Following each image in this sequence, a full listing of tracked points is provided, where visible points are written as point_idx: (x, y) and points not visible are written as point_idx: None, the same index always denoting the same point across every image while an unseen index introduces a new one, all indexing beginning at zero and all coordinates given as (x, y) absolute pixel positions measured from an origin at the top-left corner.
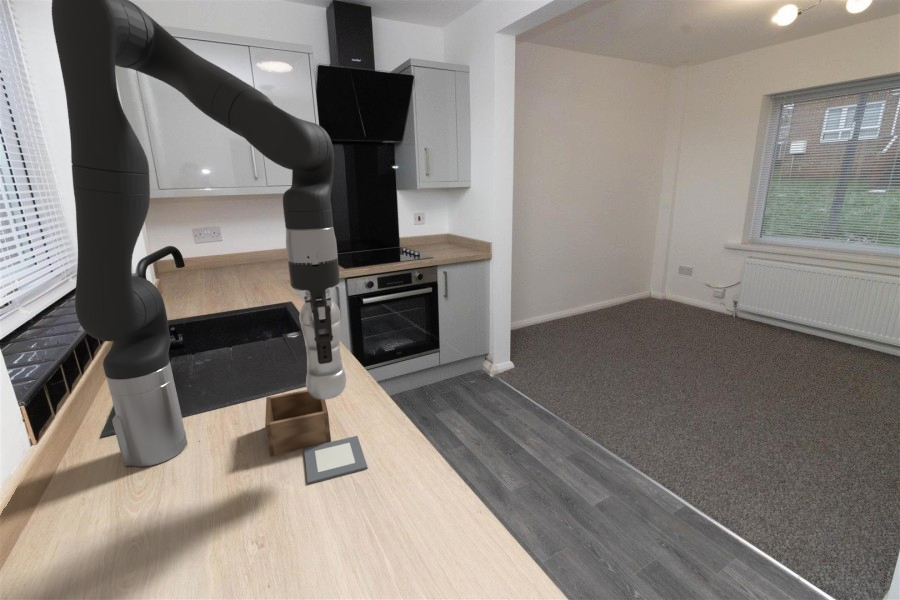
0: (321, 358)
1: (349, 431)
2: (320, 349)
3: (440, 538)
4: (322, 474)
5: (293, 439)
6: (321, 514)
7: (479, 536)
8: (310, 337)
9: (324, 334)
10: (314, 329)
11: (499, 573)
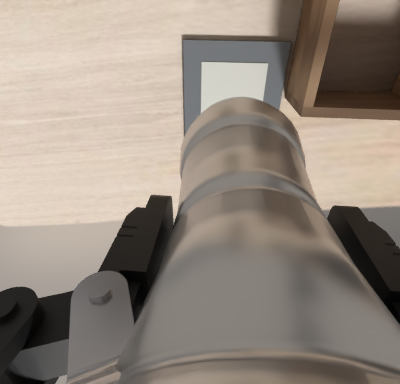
0: (124, 220)
1: (298, 134)
2: (108, 254)
3: (48, 179)
4: (193, 69)
5: (306, 20)
6: (108, 54)
7: (47, 209)
8: (167, 273)
9: (5, 373)
10: (70, 373)
11: (6, 206)
